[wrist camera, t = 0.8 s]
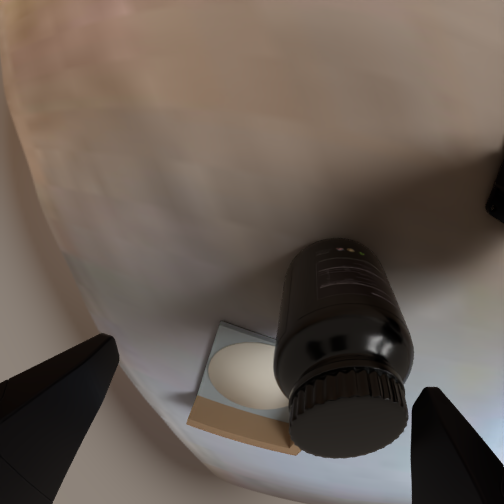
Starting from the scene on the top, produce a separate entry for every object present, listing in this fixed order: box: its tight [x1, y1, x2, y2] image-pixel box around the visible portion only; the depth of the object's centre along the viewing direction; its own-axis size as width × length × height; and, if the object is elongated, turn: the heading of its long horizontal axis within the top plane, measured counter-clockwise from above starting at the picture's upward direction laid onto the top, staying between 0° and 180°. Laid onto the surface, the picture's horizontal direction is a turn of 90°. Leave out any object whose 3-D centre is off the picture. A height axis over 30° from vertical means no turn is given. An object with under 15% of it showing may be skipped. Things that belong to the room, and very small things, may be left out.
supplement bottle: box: [273, 238, 414, 459], centre depth 16 cm, size 7×7×12 cm
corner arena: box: [187, 321, 301, 456], centre depth 25 cm, size 11×11×4 cm
